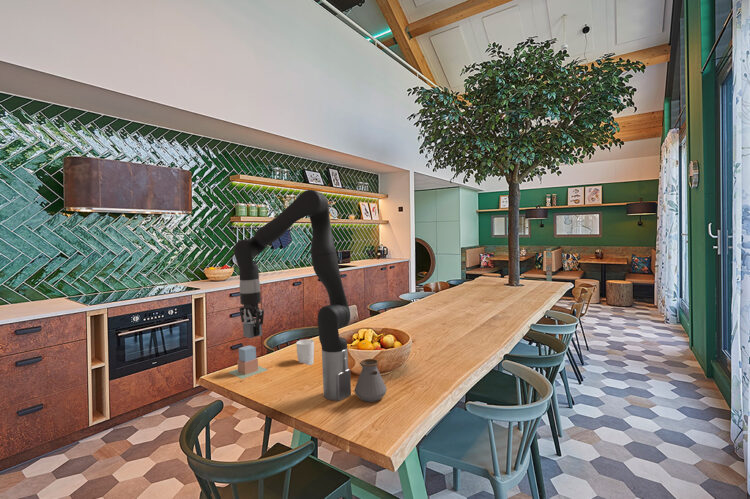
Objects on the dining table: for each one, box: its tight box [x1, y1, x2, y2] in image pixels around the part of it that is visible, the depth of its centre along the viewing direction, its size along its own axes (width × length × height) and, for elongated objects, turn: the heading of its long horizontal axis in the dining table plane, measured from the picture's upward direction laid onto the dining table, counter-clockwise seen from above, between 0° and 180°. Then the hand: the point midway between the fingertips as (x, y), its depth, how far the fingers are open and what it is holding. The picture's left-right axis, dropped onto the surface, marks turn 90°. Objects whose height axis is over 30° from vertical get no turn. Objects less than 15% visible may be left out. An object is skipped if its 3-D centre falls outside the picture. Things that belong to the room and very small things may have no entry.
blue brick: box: [238, 344, 257, 362], centre depth 156 cm, size 5×5×5 cm
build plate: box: [227, 365, 269, 380], centre depth 156 cm, size 12×12×2 cm
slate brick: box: [242, 320, 263, 339], centre depth 142 cm, size 5×5×5 cm
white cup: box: [295, 338, 315, 366], centre depth 167 cm, size 8×8×10 cm
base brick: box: [236, 357, 259, 375], centre depth 156 cm, size 6×6×5 cm
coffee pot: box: [354, 358, 387, 403], centre depth 126 cm, size 21×12×15 cm, turn 9°
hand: (252, 334), depth 142 cm, fingers closed on slate brick, 5 cm apart
